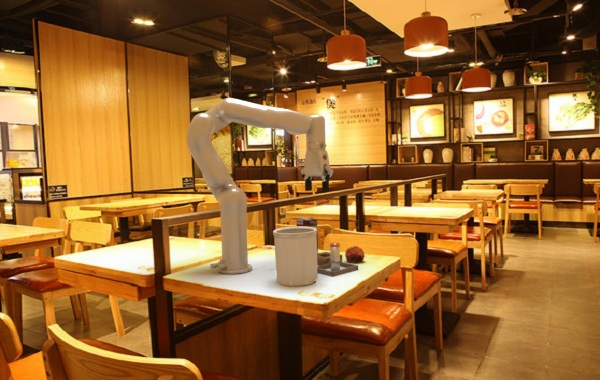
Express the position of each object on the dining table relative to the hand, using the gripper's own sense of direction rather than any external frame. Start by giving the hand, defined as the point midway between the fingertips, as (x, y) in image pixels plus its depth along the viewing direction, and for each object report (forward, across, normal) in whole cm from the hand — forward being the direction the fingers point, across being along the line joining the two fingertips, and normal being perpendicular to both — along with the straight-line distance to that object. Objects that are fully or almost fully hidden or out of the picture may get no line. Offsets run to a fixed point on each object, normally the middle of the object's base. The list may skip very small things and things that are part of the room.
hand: (316, 191), depth 175 cm
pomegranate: (+29, -13, -7) cm, 32 cm away
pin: (+28, -17, +8) cm, 33 cm away
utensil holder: (+28, -14, +24) cm, 40 cm away
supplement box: (+28, +12, -5) cm, 31 cm away
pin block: (+28, -6, +2) cm, 29 cm away
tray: (+28, -17, +8) cm, 34 cm away
